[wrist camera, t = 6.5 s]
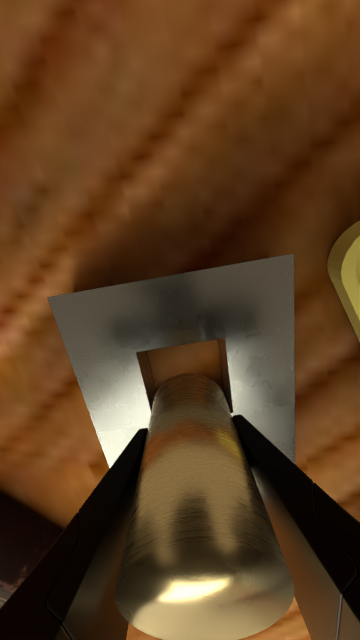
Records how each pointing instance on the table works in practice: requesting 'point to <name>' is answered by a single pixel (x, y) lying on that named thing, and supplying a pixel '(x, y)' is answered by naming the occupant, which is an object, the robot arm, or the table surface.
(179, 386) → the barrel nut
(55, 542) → the robot arm
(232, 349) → the flange plate
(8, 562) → the diary
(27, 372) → the table surface
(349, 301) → the plastic component
